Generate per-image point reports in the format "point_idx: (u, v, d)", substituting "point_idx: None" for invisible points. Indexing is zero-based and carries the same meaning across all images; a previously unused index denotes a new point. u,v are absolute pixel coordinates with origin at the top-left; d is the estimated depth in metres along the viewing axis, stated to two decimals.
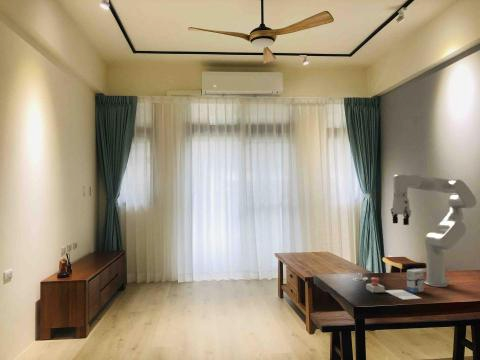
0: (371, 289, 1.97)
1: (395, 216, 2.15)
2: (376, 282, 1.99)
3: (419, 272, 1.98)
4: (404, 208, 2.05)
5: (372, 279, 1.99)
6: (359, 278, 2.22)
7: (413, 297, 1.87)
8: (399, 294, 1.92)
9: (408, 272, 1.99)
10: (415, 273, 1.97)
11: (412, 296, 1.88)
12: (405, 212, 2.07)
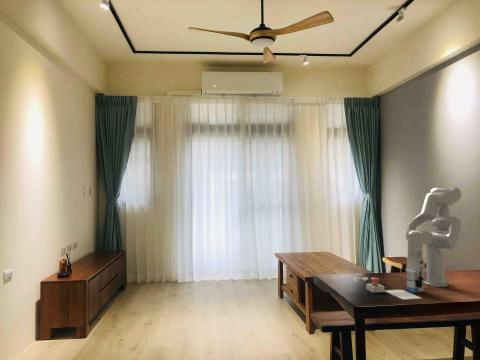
0: (371, 289, 1.97)
1: None
2: (376, 282, 1.99)
3: None
4: (419, 269, 1.95)
5: (372, 279, 1.99)
6: (359, 278, 2.22)
7: (413, 297, 1.87)
8: (399, 294, 1.92)
9: (408, 272, 1.99)
10: (415, 273, 1.97)
11: (412, 296, 1.88)
12: (419, 273, 1.98)
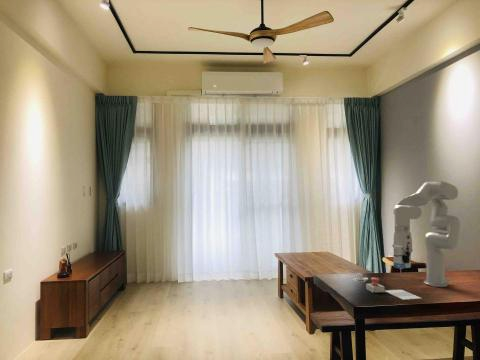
0: (371, 289, 1.97)
1: None
2: (376, 282, 1.99)
3: None
4: (406, 244, 1.88)
5: (372, 279, 1.99)
6: (359, 278, 2.22)
7: (413, 297, 1.87)
8: (399, 294, 1.92)
9: (395, 247, 1.92)
10: (402, 248, 1.89)
11: (412, 296, 1.88)
12: (406, 248, 1.91)
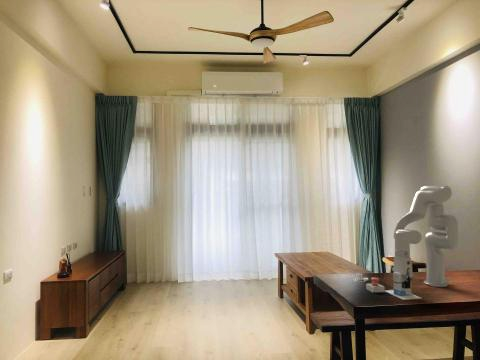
0: (371, 289, 1.97)
1: None
2: (376, 282, 1.99)
3: (406, 274, 1.91)
4: (406, 269, 1.88)
5: (372, 279, 1.99)
6: (359, 278, 2.22)
7: (413, 297, 1.87)
8: None
9: (395, 274, 1.92)
10: (402, 275, 1.89)
11: (412, 296, 1.88)
12: (407, 273, 1.90)
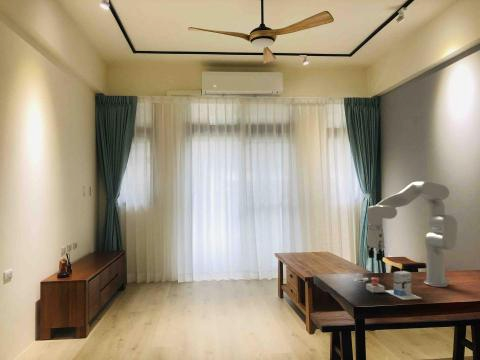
0: (371, 289, 1.97)
1: (371, 250, 2.04)
2: (376, 282, 1.99)
3: (406, 274, 1.91)
4: (378, 242, 1.95)
5: (372, 279, 1.99)
6: (359, 278, 2.21)
7: (413, 297, 1.87)
8: None
9: (395, 274, 1.92)
10: (402, 275, 1.89)
11: (412, 296, 1.88)
12: (379, 246, 1.98)
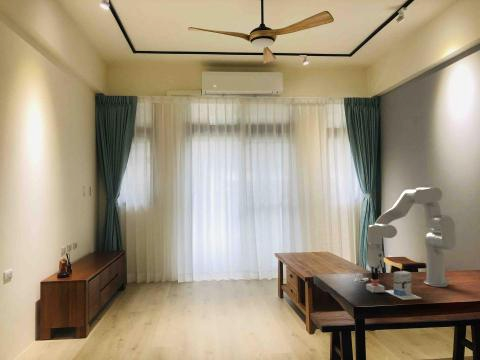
0: (371, 289, 1.97)
1: None
2: (376, 283, 1.99)
3: (406, 274, 1.91)
4: (378, 262, 1.95)
5: (372, 280, 1.99)
6: (360, 278, 2.21)
7: (413, 297, 1.87)
8: None
9: (395, 274, 1.92)
10: (402, 275, 1.89)
11: (412, 296, 1.88)
12: None
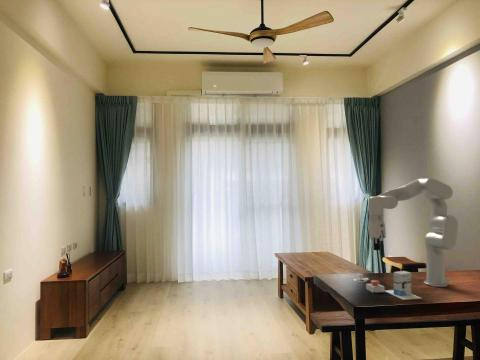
0: (371, 289, 1.97)
1: None
2: (376, 285, 1.99)
3: (406, 274, 1.91)
4: (380, 232, 1.97)
5: (372, 282, 1.99)
6: (360, 278, 2.21)
7: (413, 297, 1.87)
8: None
9: (395, 274, 1.92)
10: (402, 275, 1.89)
11: (412, 296, 1.88)
12: None
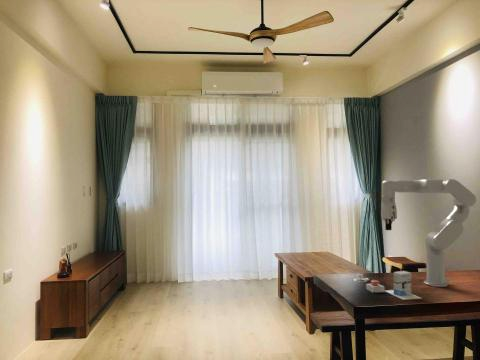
0: (371, 289, 1.97)
1: None
2: (376, 285, 1.99)
3: (406, 274, 1.91)
4: (391, 213, 2.15)
5: (372, 282, 1.99)
6: (360, 279, 2.21)
7: (413, 297, 1.87)
8: None
9: (395, 274, 1.92)
10: (402, 275, 1.89)
11: (412, 296, 1.88)
12: None
